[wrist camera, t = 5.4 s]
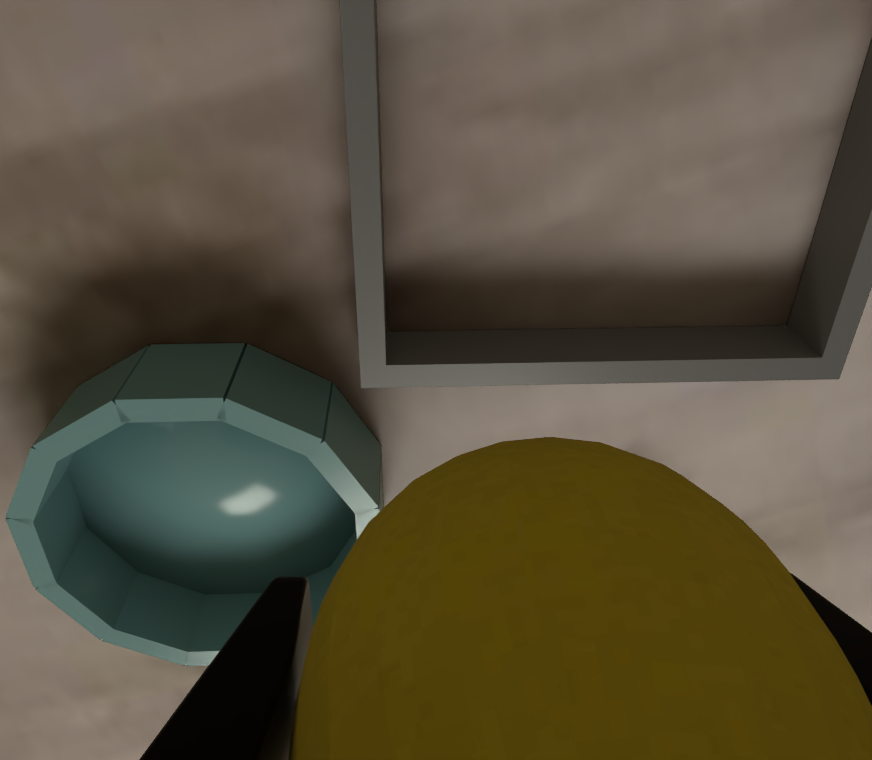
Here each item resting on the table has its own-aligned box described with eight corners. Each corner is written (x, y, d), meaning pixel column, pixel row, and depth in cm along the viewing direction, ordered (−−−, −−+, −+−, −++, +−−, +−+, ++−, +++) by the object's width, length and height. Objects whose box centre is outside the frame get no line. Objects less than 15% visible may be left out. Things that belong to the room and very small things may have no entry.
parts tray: (983, -227, 14) (1062, -252, 13) (803, 345, 21) (839, 378, 20) (333, -241, 14) (323, -271, 12) (363, 353, 21) (361, 388, 19)
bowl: (376, 340, 20) (374, 394, 18) (386, 589, 26) (385, 658, 23) (14, 346, 20) (-42, 403, 17) (100, 599, 25) (67, 670, 23)
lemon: (293, 344, 9) (-15, 1524, 2) (714, 303, 9) (1694, 1343, 2) (353, 627, 12) (301, 1525, 5) (674, 595, 12) (1053, 1446, 5)
